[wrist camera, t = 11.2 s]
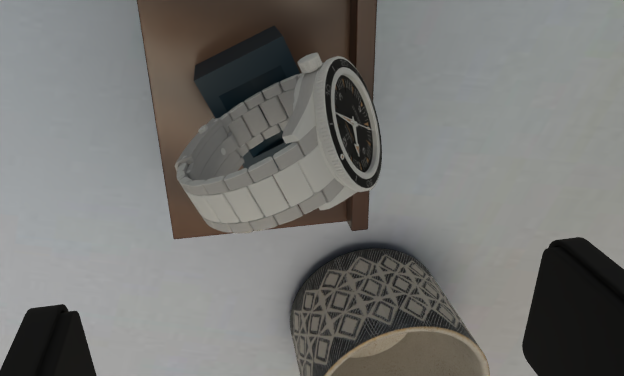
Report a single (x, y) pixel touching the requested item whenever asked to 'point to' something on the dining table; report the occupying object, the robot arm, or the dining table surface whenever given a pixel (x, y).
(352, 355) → the planter
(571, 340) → the robot arm
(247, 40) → the watch
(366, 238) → the dining table surface
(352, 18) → the shelf
